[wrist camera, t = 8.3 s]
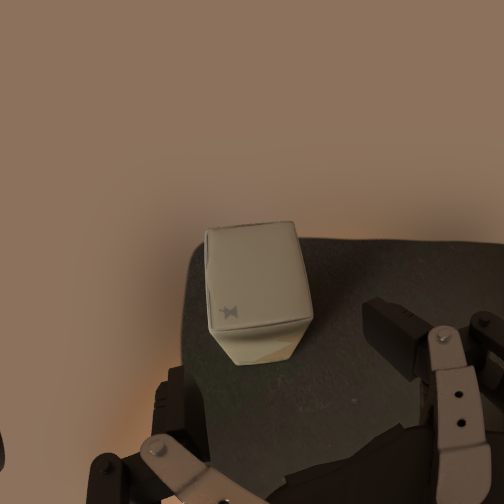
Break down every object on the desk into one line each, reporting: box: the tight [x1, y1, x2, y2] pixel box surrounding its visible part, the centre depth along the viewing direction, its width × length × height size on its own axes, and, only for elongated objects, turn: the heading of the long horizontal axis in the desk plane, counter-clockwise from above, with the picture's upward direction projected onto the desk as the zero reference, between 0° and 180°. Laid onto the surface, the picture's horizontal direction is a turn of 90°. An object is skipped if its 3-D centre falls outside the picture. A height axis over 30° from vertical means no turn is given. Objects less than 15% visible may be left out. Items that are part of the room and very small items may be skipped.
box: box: [205, 221, 314, 365], centre depth 16 cm, size 5×4×11 cm
